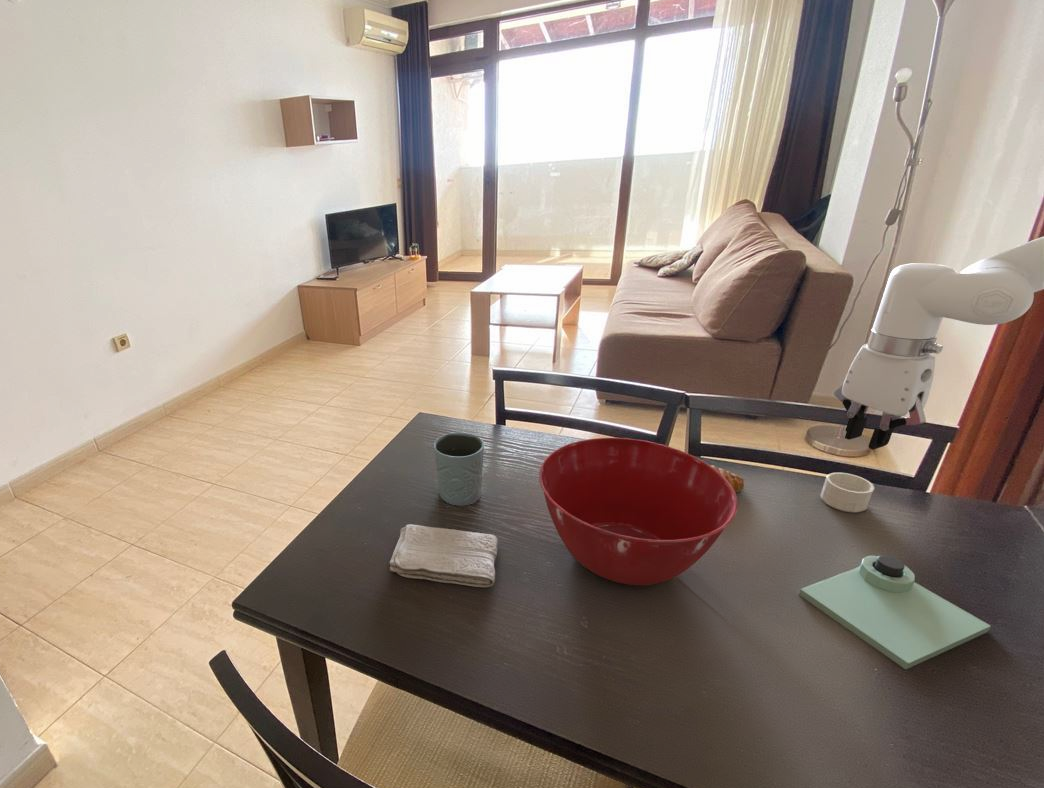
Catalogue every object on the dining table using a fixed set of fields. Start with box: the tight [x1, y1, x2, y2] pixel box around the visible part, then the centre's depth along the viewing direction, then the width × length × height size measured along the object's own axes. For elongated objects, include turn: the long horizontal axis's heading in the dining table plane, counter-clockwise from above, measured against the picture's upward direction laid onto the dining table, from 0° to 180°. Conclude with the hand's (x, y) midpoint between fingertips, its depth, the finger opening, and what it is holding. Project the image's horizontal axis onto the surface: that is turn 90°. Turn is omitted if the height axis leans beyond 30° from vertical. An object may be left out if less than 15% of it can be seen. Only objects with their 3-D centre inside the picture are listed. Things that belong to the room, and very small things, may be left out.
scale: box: [798, 555, 992, 670], centre depth 77 cm, size 16×14×3 cm
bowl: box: [820, 472, 875, 513], centre depth 99 cm, size 7×7×5 cm
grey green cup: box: [433, 432, 485, 506], centre depth 110 cm, size 10×10×12 cm
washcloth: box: [389, 523, 499, 588], centre depth 94 cm, size 12×18×3 cm, turn 75°
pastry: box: [710, 464, 745, 493], centre depth 107 cm, size 9×7×4 cm
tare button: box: [874, 554, 906, 578], centre depth 81 cm, size 3×3×2 cm
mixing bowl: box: [538, 437, 739, 586], centre depth 89 cm, size 28×28×16 cm
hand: (864, 441), depth 94 cm, fingers open, 3 cm apart
